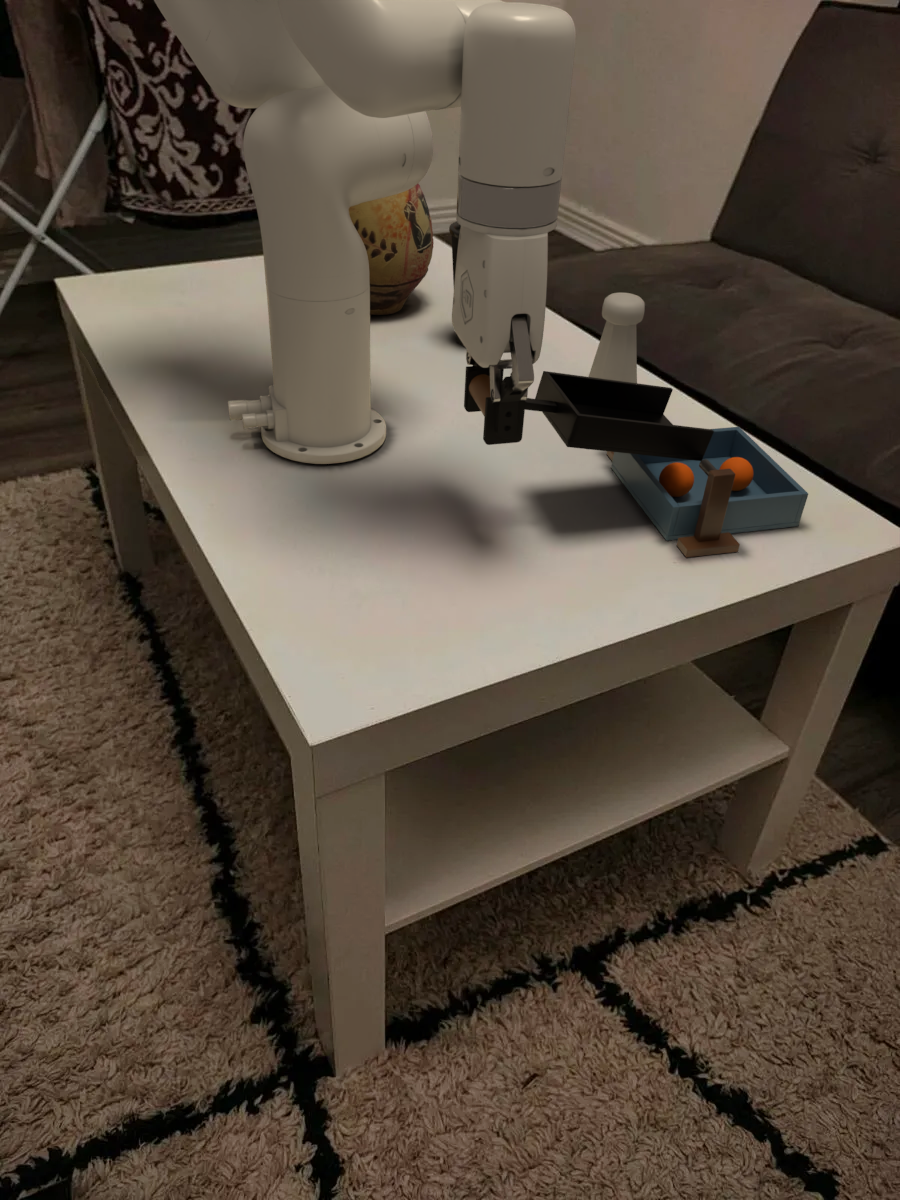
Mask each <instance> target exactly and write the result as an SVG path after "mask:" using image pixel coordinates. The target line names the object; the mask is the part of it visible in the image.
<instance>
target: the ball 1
mask: <svg viewBox="0 0 900 1200" xmlns="http://www.w3.org/2000/svg"><path fill="white" fill-rule="evenodd" d="M659 482H660V484H661V485H662V486H663V487H664V488H665V490H666V491H667V492H668V493H669V495H670V496H672V497H680V496H683V495H685V494H687V493H688V492H689V491H690V490H691V488H692V486H693V484H694V475H693V472H692V470H691V469H690V468H689V467H688V466H687V465H685V464H683V463H678V462H677V463H671V464H669V465H667V466H666V467H665V468H664V469H663V470H662V471H661V473H660V476H659Z"/></svg>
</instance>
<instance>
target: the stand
mask: <svg viewBox="0 0 900 1200" xmlns="http://www.w3.org/2000/svg"><path fill="white" fill-rule="evenodd" d="M606 455H607V457H608V458H609V459H610V460H611V462H612V461H613V455H614V452H610V451H606ZM699 467H700V468H701V469H702V470H703V471H704V472H705V473H706V475H707V476H708V478H707V482H706V487H705V491H704V495H703V500H702V504H701V508H700V512H699V517H698V521H697V525H696V530H695V534H694V536H691V537H682V538H678V539H677V541H676V546H677V548H678V549H679V550H680V552H681V553H682V554H683V556H685V558H694V557H702V556H703V557H704V556H711V555H720V554H729V553H737V552H739V549H740V542H738V541H737V539H736V538H735V537H734V536H733V534H730V533H729V532H728V533H721V530H722V526H723V522H724V518H725V514H726V510H727V506H728V502H729V498H730V494H731V490H732V486H733V482H734V478H735V473H734V472H733V471H732V470H731V469H721V470H717V469H716V468H715V467H714V466H713V465H712V464H711V463H710V462H709V461H708V460H707V459H704V460H702V461H701V462H700V464H699Z"/></svg>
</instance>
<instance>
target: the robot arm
mask: <svg viewBox="0 0 900 1200" xmlns="http://www.w3.org/2000/svg"><path fill="white" fill-rule="evenodd" d="M153 2H154V4H155V5H156V6H157V8H158V10H159V11H160V13H161V14H162V16H163V17H164V19H165V21H166V22H167V23H168V25H169V27H170V28H171V30H172V31H173V33H174V35H175V36H176V37H177V39H178V41H179V42H180V43H181V46H182V47H183V48H184V50H185V51H186V52H187V54H188V56H189V57H190V59H191V60H192V62H193V63H194V65H195V66H196V68H197V69H198V71H199V72H200V75H202V77H203V78H204V80H205V81H206V82H207V85H209V86H210V88H211V89H212V91H213V92H214V93H215V94H216V96H217V97H219V98H220V99H221V100H222V101H223V102H225V103H226V104H228V105H230V106H232V107H235V108H240V109H255V110H254V111H253V113H252V114H251V115H250V117H249V118H248V121H247V123H246V125H245V129H244V133H243V142H242V148H243V149H242V151H243V158H244V164H245V169H246V173H247V177H248V181H249V185H250V189H251V192H252V196H253V199H254V204H255V208H256V213H257V217H258V224H259V229H260V237H261V244H262V253H263V254H262V255H263V265H264V278H265V279H264V280H265V287H266V300H267V315H268V330H269V342H270V354H271V355H270V357H271V368H272V382H273V385H268V395H260V396H259V399H251V400H246V399H236V400H235V399H234V400H227V408H228V416H229V417H228V418H229V421H242V427H243V429H254V428H259V427H260V431H261V432H260V433H261V439H262V442H263V444H264V445H265V447H266V448H267V449H269V450H270V451H271V452H273V453H275V454H276V455H278V456H280V457H282V458H285V459H288V460H291V461H294V462H299V463H303V464H314V465H327V464H328V465H329V464H340V463H346V462H352V461H355V460H358V459H362V458H364V457H367V456H369V455H371V454H372V453H374V452H375V451H377V450H379V448H380V447H381V446H382V445H383V444H384V443H385V440H386V437H387V423H386V420H385V419H384V418H383V416H382V415H381V414H380V413H379V412H378V411H376V410H374V408H372V405H371V403H372V402H371V401H372V400H371V399H372V398H371V397H372V395H371V393H372V392H371V390H372V388H371V385H372V383H371V380H372V379H371V316H370V284H369V261H368V256H367V252H366V248H365V246H364V243H363V241H362V239H361V237H360V236H359V234H358V232H357V230H356V228H355V227H354V225H353V223H352V221H351V218H350V215H349V207H351V206H354V205H358V204H360V203H363V202H367V201H372V200H376V199H380V198H384V197H388V196H392V195H396V194H399V193H402V192H404V191H407V190H409V189H411V188H412V187H414V186H415V185H417V184H419V183H420V182H421V181H423V179H424V178H425V177H426V175H427V173H428V171H429V170H430V167H431V164H432V160H433V155H434V136H433V131H432V125H431V122H430V119H429V116H428V113H427V112H428V111H439V110H446V109H447V110H448V109H454V108H460V115H459V116H460V117H459V118H460V119H459V139H458V140H459V141H458V166H457V167H458V168H457V172H458V173H457V189H456V191H457V193H456V213H455V215H456V216H455V217H456V218H455V219H456V220H455V221H457V222H458V223H459V224H460V225H461V228H460V234H459V242H458V250H457V260H456V271H455V283H454V284H453V297H452V308H451V324H452V328H453V330H454V332H455V335H456V334H457V335H458V337H459V338H460V340H461V342H462V343H463V345H464V346H463V345H462V346H463V347H464V348H465V349H466V352H465V353H466V355H465V360H466V364H467V366H465V379H464V395H463V396H464V397H463V408H464V410H465V411H466V412H467V413H477V412H481V410H480V408H479V407H478V405H477V404H476V402H475V400H474V399H473V397H472V395H471V394H470V391H469V385H470V382H471V381H472V379H473V378H475V377H476V376H478V375H488V376H490V397H486V402H485V417H484V419H483V435H482V439H483V442H484V443H485V445H487V446H491V445H503V444H504V445H505V444H517V443H519V442H521V441H522V439H523V435H524V434H523V433H524V422H525V411H526V410H525V402H526V399H527V398H528V393H529V391H528V390H529V388H530V386H531V385H533V383H534V382H535V370H534V364H535V363H537V362H538V360H539V359H540V356H541V352H542V346H543V338H544V332H545V331H544V329H545V321H546V307H547V290H548V289H547V288H548V263H549V262H548V261H549V260H548V259H549V258H548V257H549V256H548V255H549V252H548V251H549V234H548V233H549V232H552V231H555V229H556V228H557V227H558V220H559V209H560V208H559V207H560V199H561V198H560V197H561V189H562V179H563V172H564V171H563V170H564V162H565V161H564V159H565V151H566V141H567V131H568V121H569V113H570V102H571V93H572V83H573V74H574V73H573V72H574V63H575V53H576V39H577V33H576V32H577V31H576V25H575V22H574V20H573V17H572V16H571V15H570V14H569V13H568V12H567V11H566V10H564V9H562V8H560V7H557V6H552V5H548V4H541V3H534V2H533V3H531V2H518V1H517V2H513V1H503V0H153ZM503 354H510V358H509V359H508V358H507V359H502V356H503ZM510 369H512V370H511V372H510V375H509V376H504V370H510Z"/></svg>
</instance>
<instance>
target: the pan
mask: <svg viewBox="0 0 900 1200" xmlns="http://www.w3.org/2000/svg"><path fill="white" fill-rule="evenodd" d="M469 391H470V394H471V395H472V397H473V399H474V400H475V402H476V404H477V405H478V407H479V408H480V410H481V411H480V413H482V415H483V417H484V418H485V402H486V397H490V376H488V375H478V376H476V377H475V378H473V379H472V381H471V382H470V385H469ZM672 393H673V388H672V387H667V386H659V385H652V384H645V383H638V382H637V383H631V382H623V381H616V380H608V379H600V378H593V377H588V376H584V375H577V374H571V373H564V372H563V373H561V372H555V371H554V372H553V371H546V370H542V374H541V377H540V381H539V384H538V386H537V391H536V394H535V398H530V397H527V399H526V402H525V411H533V412H541V413H542V414H543V416H544V417H545V418H546V419H547V421H548V422H549V424H550V425H551V426H552V428H553V429H554V431H555V432H556V433H557V435H558V436H559V438H560V439H561V440H562V442H563V443H564V445H565V446H566V448H573V449H580V450H581V449H583V450H592V451H601V452H607V451H610V452H620V453H629V454H639V455H648V456H658V457H667V458H677V459H686V460H696V461H702V459H703V457H704V454H705V452H706V450H707V447H708V445H709V442H710V440H711V438H712V435H713V433H714V431H713V430H712V429H713V428H704V427H695V426H685V425H678V424H673V423H672V422H671V421H670V420H669V418H667V416H665V412H666V411H665V410H666V409H667V406H668V403H669V400H670V399H671V396H672Z"/></svg>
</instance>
